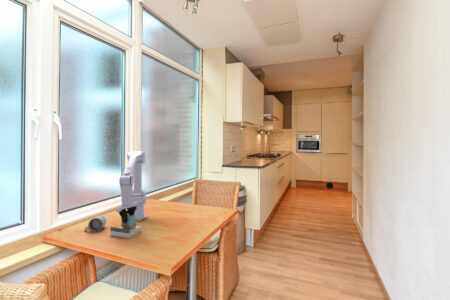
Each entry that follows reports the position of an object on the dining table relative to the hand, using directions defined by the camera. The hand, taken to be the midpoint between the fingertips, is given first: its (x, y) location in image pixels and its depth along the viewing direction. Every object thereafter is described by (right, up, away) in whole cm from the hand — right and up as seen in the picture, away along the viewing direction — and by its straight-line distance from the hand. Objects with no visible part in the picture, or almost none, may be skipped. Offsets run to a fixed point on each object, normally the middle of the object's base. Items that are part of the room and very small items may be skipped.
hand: (128, 221), depth 128 cm
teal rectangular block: (0, -3, 0) cm, 3 cm away
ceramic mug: (-21, -7, +5) cm, 22 cm away
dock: (0, -6, -1) cm, 6 cm away
